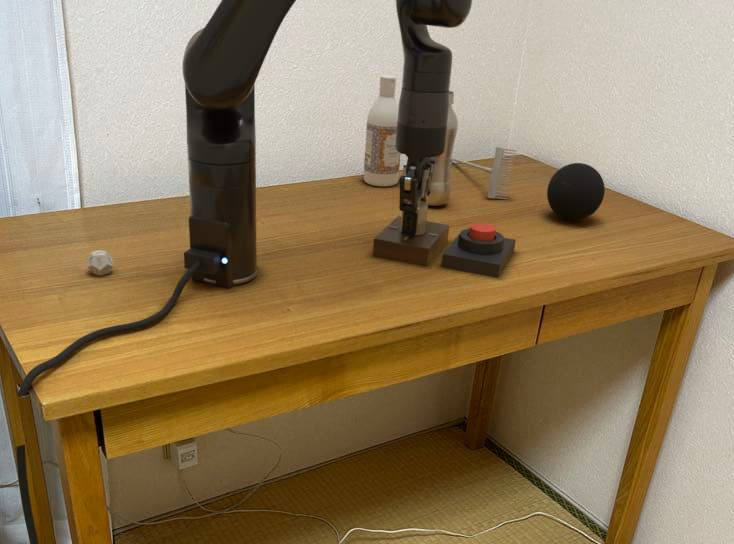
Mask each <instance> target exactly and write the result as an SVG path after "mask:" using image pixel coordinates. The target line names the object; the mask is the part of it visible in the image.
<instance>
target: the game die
mask: <svg viewBox="0 0 734 544" xmlns="http://www.w3.org/2000/svg"><path fill="white" fill-rule="evenodd" d="M113 259H114V258H113V257H112V256H111V254H109V252H108V251H107V250H106V251H105V250H101V249H97V250H94V251H91V252H90V254H89V255H88V257H87V259H86V264H87V268H88V269H89V271H90V272H91V273H92V274H93V275H97V276H104V275H107V274H110V272H111V270H112V268H113V267H114V262H113V261H114V260H113Z"/></svg>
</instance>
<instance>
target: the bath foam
mask: <svg viewBox="0 0 734 544" xmlns="http://www.w3.org/2000/svg"><path fill="white" fill-rule="evenodd" d="M396 85H397V77H396V75H393V74H381V75H380V79H379V93H378V94H379V95H378V97H377V98H376V99H375V101H374V103H373V104H371V108H370V109H369V111H368V114H367V118H366V131H365V132H366V133H365V148H364V162H363V163H364V164H363V182H365V183H366V184H368V185H370V186H374V187H381V188H383V187H384V188H385V187H392V186H393V187H394V186H395V185H397V183H399V178H400V177H399V175H400V166H401V165H400V164H401V155H402V154H401V153H399V152H398V151H397V150H396V147H395V145H396V132H397V120H398V107H399V101H398V100H397V99H396V96H395V95H396Z"/></svg>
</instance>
